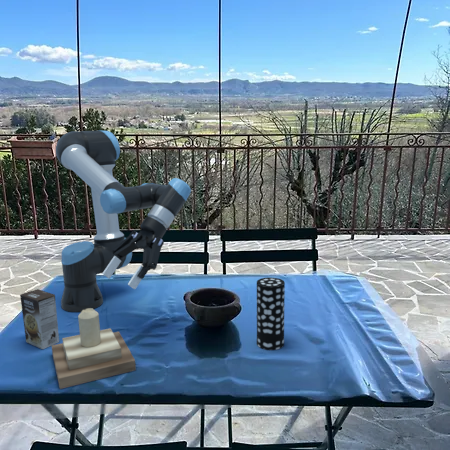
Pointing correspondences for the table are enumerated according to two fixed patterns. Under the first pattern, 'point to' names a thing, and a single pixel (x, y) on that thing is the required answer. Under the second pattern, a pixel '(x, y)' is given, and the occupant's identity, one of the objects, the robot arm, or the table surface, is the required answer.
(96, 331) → the candle
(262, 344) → the white-spotted black cylinder
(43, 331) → the coffee box
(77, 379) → the two-tier square platform
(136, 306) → the table surface
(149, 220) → the robot arm
